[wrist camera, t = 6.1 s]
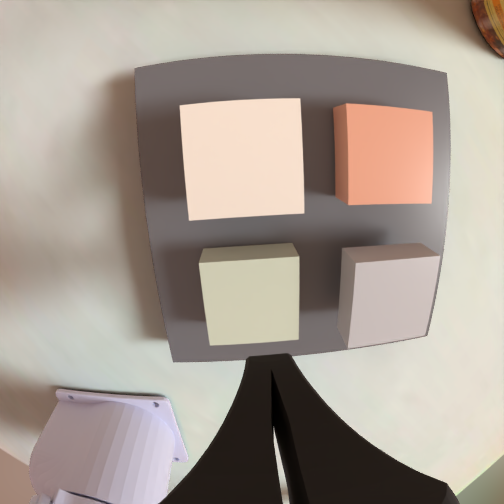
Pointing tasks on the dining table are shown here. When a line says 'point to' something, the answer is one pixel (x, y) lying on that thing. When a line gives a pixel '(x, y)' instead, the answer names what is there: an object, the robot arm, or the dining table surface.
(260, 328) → the key sage
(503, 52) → the sauce bottle
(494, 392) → the dining table surface
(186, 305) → the keypad base
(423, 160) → the key terracotta
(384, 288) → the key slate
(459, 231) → the dining table surface
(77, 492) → the robot arm
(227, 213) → the key cream
